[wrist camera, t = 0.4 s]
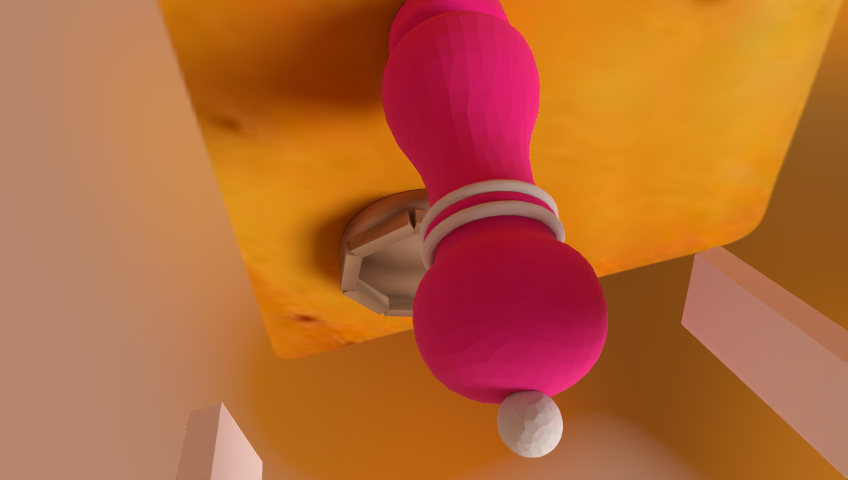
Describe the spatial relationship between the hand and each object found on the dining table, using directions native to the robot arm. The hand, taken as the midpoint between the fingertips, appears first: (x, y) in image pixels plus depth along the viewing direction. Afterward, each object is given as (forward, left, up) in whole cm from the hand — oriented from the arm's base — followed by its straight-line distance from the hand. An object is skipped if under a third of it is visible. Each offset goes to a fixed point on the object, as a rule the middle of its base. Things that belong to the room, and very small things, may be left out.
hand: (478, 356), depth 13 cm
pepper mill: (+1, +2, -18) cm, 18 cm away
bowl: (+19, +5, -18) cm, 26 cm away
